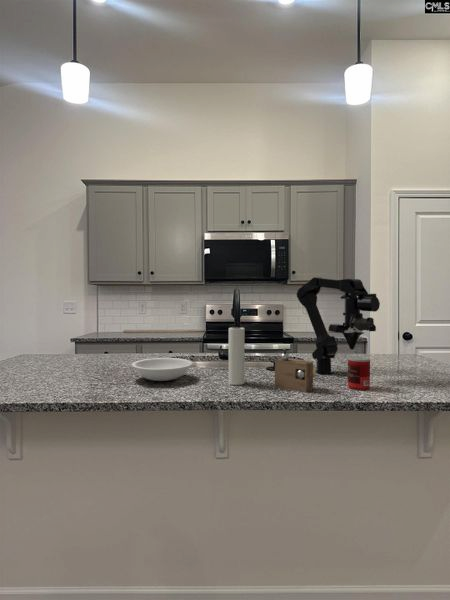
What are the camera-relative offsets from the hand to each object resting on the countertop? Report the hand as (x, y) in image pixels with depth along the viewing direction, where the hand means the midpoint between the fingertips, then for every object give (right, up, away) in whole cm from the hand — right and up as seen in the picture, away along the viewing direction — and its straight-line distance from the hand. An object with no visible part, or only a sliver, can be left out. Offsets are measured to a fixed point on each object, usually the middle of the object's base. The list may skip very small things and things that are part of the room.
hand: (352, 349), depth 155 cm
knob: (-22, -9, -16) cm, 29 cm away
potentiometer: (-29, -2, -13) cm, 32 cm away
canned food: (-2, -13, -13) cm, 18 cm away
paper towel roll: (-46, -12, -7) cm, 48 cm away
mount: (-26, -12, -14) cm, 32 cm away
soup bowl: (-76, -12, -1) cm, 77 cm away
